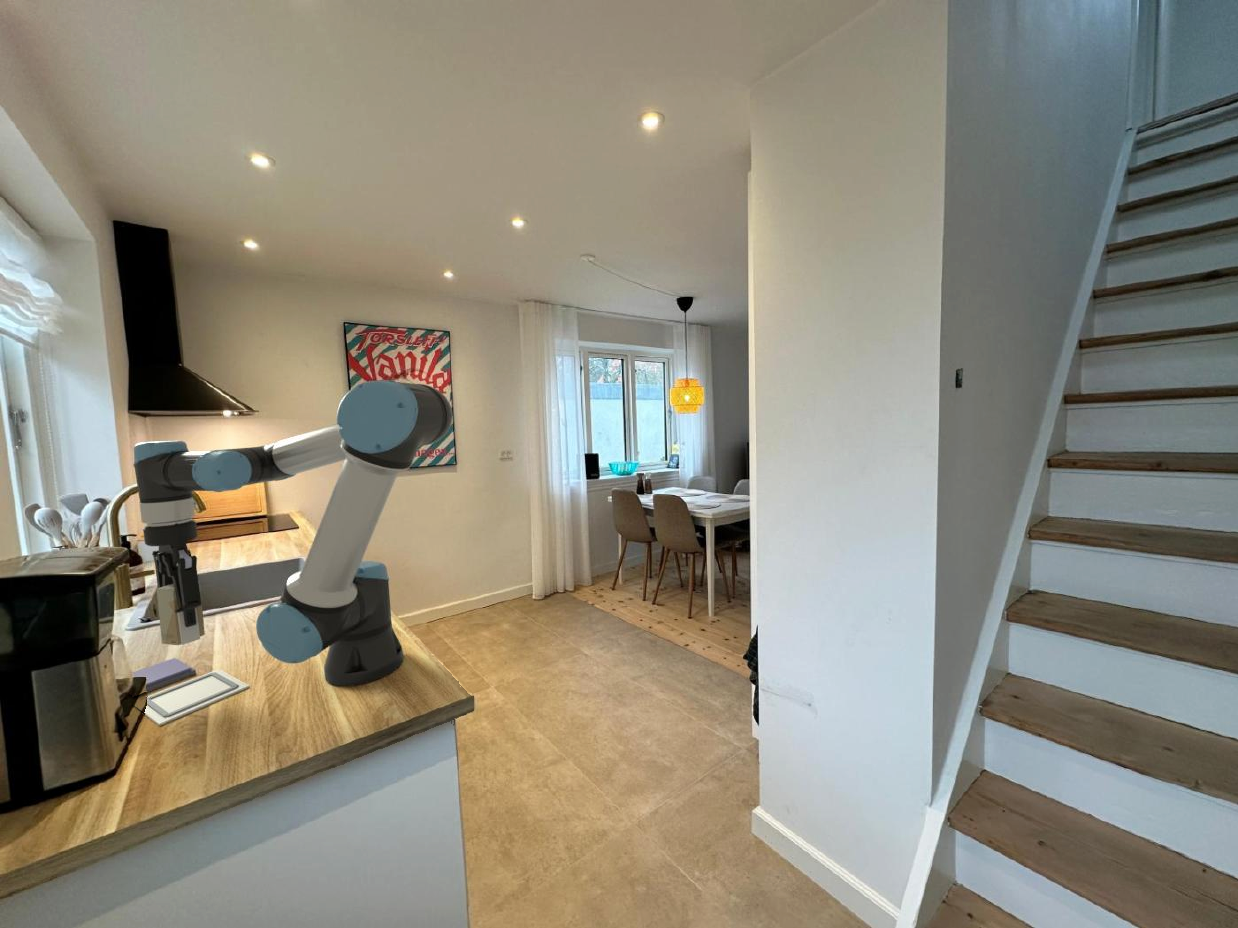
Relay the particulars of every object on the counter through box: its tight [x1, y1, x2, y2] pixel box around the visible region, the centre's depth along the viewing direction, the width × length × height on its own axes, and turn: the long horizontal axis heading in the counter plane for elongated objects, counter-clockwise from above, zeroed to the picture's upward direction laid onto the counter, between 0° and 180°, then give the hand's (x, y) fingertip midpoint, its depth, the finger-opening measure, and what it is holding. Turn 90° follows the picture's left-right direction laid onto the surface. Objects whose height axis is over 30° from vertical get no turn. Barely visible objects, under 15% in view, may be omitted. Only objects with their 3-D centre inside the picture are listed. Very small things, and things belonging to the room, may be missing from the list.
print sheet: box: [144, 668, 250, 727], centre depth 97 cm, size 14×14×1 cm
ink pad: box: [131, 657, 197, 693], centre depth 104 cm, size 10×10×2 cm
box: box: [156, 581, 206, 646], centre depth 95 cm, size 5×4×11 cm
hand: (184, 637), depth 96 cm, fingers closed on box, 5 cm apart
